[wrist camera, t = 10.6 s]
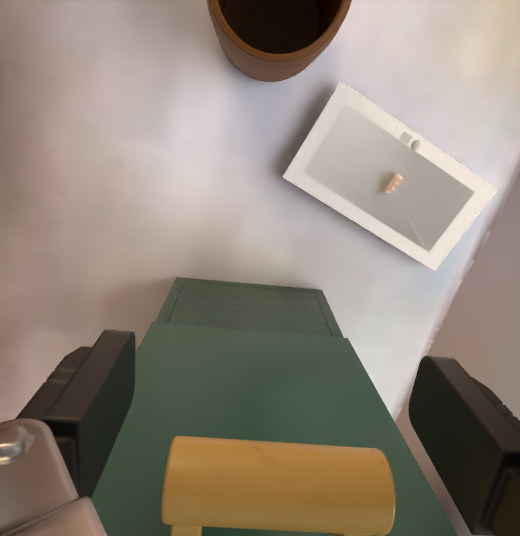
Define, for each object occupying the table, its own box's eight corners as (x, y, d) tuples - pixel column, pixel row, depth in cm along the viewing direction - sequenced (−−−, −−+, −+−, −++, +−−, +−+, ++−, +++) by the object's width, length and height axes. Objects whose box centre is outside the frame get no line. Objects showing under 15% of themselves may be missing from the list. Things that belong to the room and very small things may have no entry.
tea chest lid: (548, 741, 9) (631, 558, 7) (-55, 729, 8) (-88, 522, 7) (346, 349, 26) (359, 273, 25) (152, 333, 26) (154, 254, 24)
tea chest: (295, 450, 41) (307, 532, 32) (169, 442, 40) (149, 524, 32) (322, 289, 35) (345, 340, 27) (176, 277, 34) (153, 324, 26)
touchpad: (429, 267, 35) (440, 275, 33) (281, 175, 32) (283, 178, 30) (489, 187, 33) (506, 192, 31) (337, 82, 30) (344, 79, 28)
